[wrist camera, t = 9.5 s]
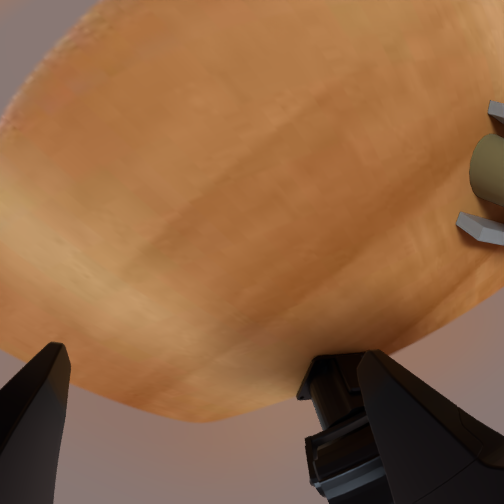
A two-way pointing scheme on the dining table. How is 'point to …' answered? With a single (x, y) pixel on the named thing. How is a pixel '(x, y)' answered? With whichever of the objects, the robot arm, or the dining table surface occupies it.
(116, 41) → the dining table surface
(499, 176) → the olive pawn
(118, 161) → the dining table surface
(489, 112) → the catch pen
